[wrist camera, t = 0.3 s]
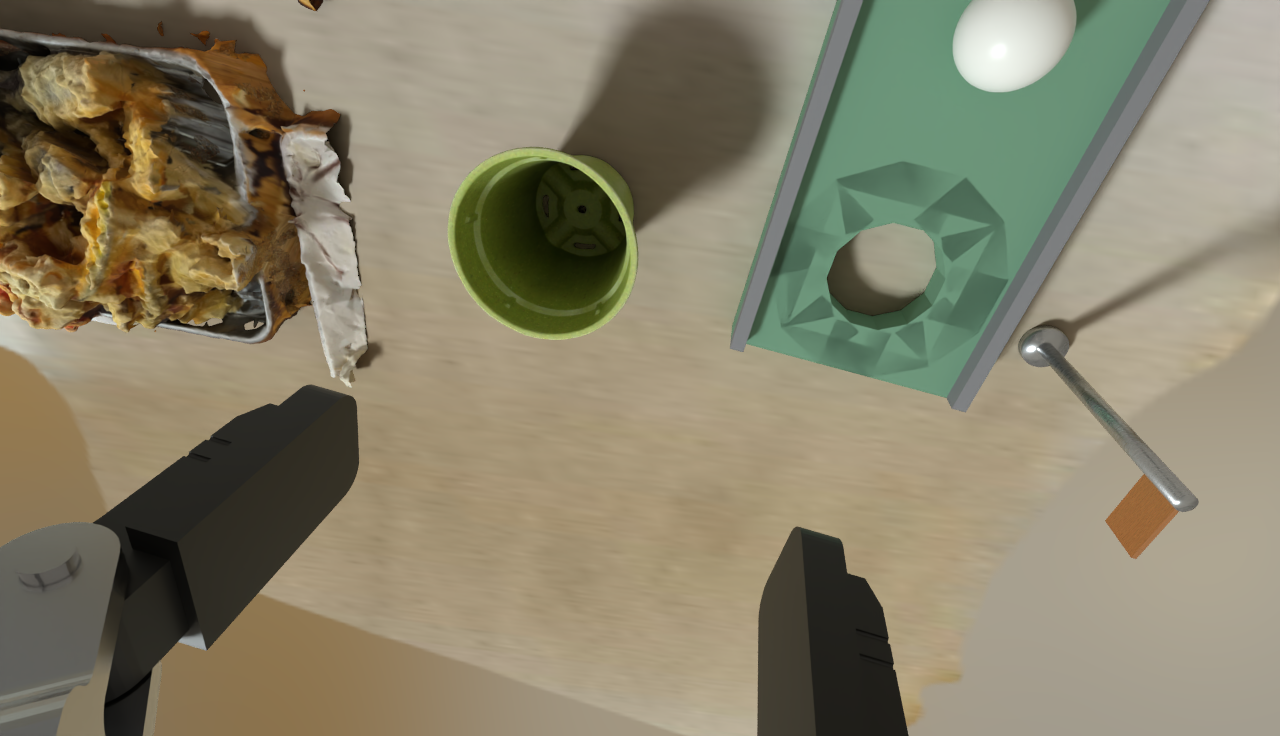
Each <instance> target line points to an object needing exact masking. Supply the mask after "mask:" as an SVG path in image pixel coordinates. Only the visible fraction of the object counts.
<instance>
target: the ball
mask: <svg viewBox="0 0 1280 736" xmlns="http://www.w3.org/2000/svg"><path fill="white" fill-rule="evenodd" d="M1076 17H1077V16H1076V7H1075V3H1074V0H972V1H971V2H970V3H969V5H968V6H967V7H966V9H965V10H964V12H963V14H962V15H961V17H960V19H959V21H958V23H957V26H956V29H955V33H954V37H953V57H954V61H955V65H956V67H957V69H958V71H959V73H960V74H961V75H962V77H963V78H964V79H965V80H966V81H967V82H968V83H970V84H971V85H973V86H975V87H976V88H978V89H981V90H984V91H988V92H1010V91H1014V90H1018V89H1021V88H1024V87H1026V86H1028V85H1031V84H1033V83H1034V82H1036V81H1038V80H1039V79H1041V78H1042V77H1043V76H1045V75H1046V74H1047V73H1048V72H1050V71H1051V70H1052V69H1053V68H1054V67H1055V66H1056V65H1057V63H1058V62H1059V61H1060V60H1061V59H1062V57H1063V56H1064V54H1065V53H1066V51H1067V49H1068V48H1069V45H1070V43H1071V41H1072V38H1073V35H1074V32H1075V27H1076Z"/></svg>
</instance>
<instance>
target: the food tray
mask: <svg viewBox="0 0 1280 736" xmlns="http://www.w3.org/2000/svg"><path fill="white" fill-rule="evenodd" d="M298 2H299V3H300V4H301V5H303V6H304V7H306V8H308V9H311V10H313V11H317V10H318V8H319V7H320V6H321V4H322V3H323V0H298ZM317 12H318V11H317ZM161 25H162V21H161V22H160V23H158V27H157V29H158V31H159V33H160V35H161V36H164V34H163V30H162V27H161ZM190 34H191V35H193V36H195V37H197V38H198V39H199V40H200V41H201V42H202V43H203V44H204V45H206V41H207V39H208V38H209V35H210V33H209V32H208V31H202V32H201V33H199V34H192V33H190ZM102 35H103V37H104V38H105V39H106V42H102V41H100V42H91V43H89V42H88V41H86V40H85V39H83V38H80V37H67V36H65V35H62V34H61V33H59V34H58V35H56V34H54V33H52V36H50V35H47V34H42V33H34V32H23V33H21V32H17V31H14V30H7V29H1V28H0V314H1V315H4V316H10V315H12V314H15V313H16V314H17V315H19V316H20V317H21V319H22V320H26V321H28V323H29V325H30V326H31V327H33V328H36V329H40V328H44V329H55V330H57V329H59V330H60V329H62V328H65V329H66V330H67V331H68V332H75V331H77V329H78V327H79V326H82V325H85V324H87V323H88V322H90V321H91V320H95V321H96V320H97V321H98V322H103V323H106V324H108V323H109V324H115V325H117V327H118V328H119V329H121V330H122V331H124V332H129V331H130V329H131V328H133V327H135V326H137V325H138V324H137V325H133V324H134V323H139V324H142V325H143V326H144V327H145V328H149V329H153V328H155V327H161V328H166V329H173V330H178V331H184V332H188V333H193V334H197V335H204V336H208V337H213V338H223V339H227V340H232V341H238V342H243V343H248V344H256V343H263V342H266V341H268V340H271V339H272V338H273V336H274V335H275V333H276V332H277V331H278V329H279V328H280V326H281V325H282V324H283V322H284V321H285V320H287V319H291V318H292V317H293V316H295V315H297V311H298V310H299V309H300V308H301V307H304V306H307V305H310V304H309V302H310V301H311V299H312V301H313V307H314V312H315V316H316V319H317V322H318V330H319V332H320V337H321V340H322V345H323V349H324V351H323V352H324V353H325V356H326V359H327V361H326V362H327V363H328V365H329V368H330V372H331V376H332V377H334V378H335V376H340V380H342V381H343V382H344V383H345V384H346V385H347V386H348V387H352V386H351V385H350V383H351V382H355V378H354V374H353V372H352V371H353V368H355V363H356V362H357V360H358V358H360V356H361V355H362V354H364V353H365V352H366V349H368V346H367V342H366V341H365V340H367V339H366V335H365V328H366V325H365V322H364V320H363V319H364V309H363V300H360V298H359V295H358V293H357V291H356V289H359V288H360V287H359V286H360V285H361V283H360V281H359V276H358V270H357V268H356V267H357V258H356V255H355V251H354V250H355V248H354V247H355V242H354V241H353V238H354V237H353V233H352V232H351V227H350V226H349V225H350V224H349V220H351V219H352V218H351V217H350V216H348V215H347V214H345V213H343V212H342V211H341V209H340V208H339V204H340V202H342V201H345V202H351V201H350V199H349V198H348V197H347V196H346V195H345V194H344V191H343V190H344V189H343V188H342V187H341V185H340V184H339V183H338V182H337V178H338V173H339V172H340V163H341V162H340V160H339V158H338V156H337V154H336V153H335V152H334V149H333V148H332V147H331V146H330V144H329V142H328V141H326V140H327V135H326V132H327V131H329V129H330V128H332V127H333V125H334V123H337V121H338V120H339V117H340V114H339V113H337V112H336V111H334V110H332V109H329V110H325V111H311V112H309V113H308V114H306V115H305V116H300V115H297V114H294V113H293V112H292V111H291V110H290V108H289V107H288V106H287V105H286V104H285V103H284V102H283V101H282V100H281V99H280V97H279V96H278V94H277V93H276V91H275V90H274V88H273V86H272V84H271V82H270V80H269V78H268V76H267V74H266V71H267V67H266V65H265V64H264V62H263V61H262V59H261V57H260V56H259V55H258V54H249V53H241V54H237V53H235V49H234V48H235V44H236V43H235V42H236V41H237V40H231V41H220V40H219V39H215V45H214V46H213V47H212V48H211V50H208V51H205V52H204V51H200V50H195V49H190V48H184V47H178V48H163V47H153V48H152V47H146V48H145V47H137V46H133V45H128V44H121V45H120V46H119V45H118V44H117V43H116V42H115V41H114V40H113V39H112V38H111V37H110V36H109V35H107V34H102ZM205 78H206V79H207V80H208V82H210V83H211V84H212V86H213V87H214V89H215V90H216V92H217V93H218V95H219V97H220V99H221V101H222V103H223V105H220V104H218V103H216V102H214V101H213V100H212V99H211V98H210V97H209V96H208V95H207V94H206V93H205V91H204V89H202V86H203V85H204V80H205ZM303 91H305V90H303ZM361 286H362V285H361ZM211 318H218V319H222V321H223V322H222V323H219V324H216V325H212V326H208V324H207V322H206V323H205V325H204V326H193V325H190V324H187V323H188V322H189V321H190V320H192V319H193V320H194V322H195V324H201V323H203V322H205V321H208V320H209V319H211ZM178 319H179V320H178ZM251 321H254V328H255V327H256V325H257V323H258V321H259V322H262V323H264V324H263V325H262V326H260V327H258V328H257V329H252V330H245V327H244V324H246V323H248V322H251ZM154 332H156V330H155V331H154Z"/></svg>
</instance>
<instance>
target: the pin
mask: <svg viewBox="0 0 1280 736" xmlns="http://www.w3.org/2000/svg"><path fill="white" fill-rule="evenodd" d="M1068 349H1069V341H1068V338H1067V337H1066V336H1065V335H1064V334H1063V333H1062V332H1061V331H1060V330H1059V329H1058V328H1056V327H1053V326H1047V325H1046V326H1038V327H1035V328H1033V329H1031V330H1029V331H1028V332H1026V333H1025V334H1024V335H1023V337H1022V338H1021V340H1020V342H1019V345H1018V350H1019V353H1020V355H1021V356H1022V357H1023V359H1024V360H1025V361H1026V362H1027V363H1028V364H1030V365H1032V366H1036V367H1047V366H1051V368H1052V369H1053V370H1054V371H1055V372H1056V373H1057V374H1058V376H1059V377H1060V378H1061V379H1062V380H1063V381H1064V382H1065V384H1066V385H1067V386H1068V387H1069V388H1070V389H1071V390H1072V392H1073V393H1074V394H1075V395H1076V396H1077V397H1078V398H1079V400H1080V401H1081V402H1082V403H1083V404H1084V405H1085V406H1086V408H1087V409H1088V410H1089V411H1090V412H1091V413H1092V414H1093V416H1094V417H1095V418H1096V419H1097V420H1098V421H1099V422H1100V424H1101V425H1102V426H1103V427H1104V428H1105V429H1106V430H1107V432H1108V433H1109V434H1110V435H1111V436H1112V437H1113V438H1114V440H1115V441H1116V442H1117V443H1118V444H1119V445H1120V446H1121V448H1122V449H1123V450H1124V451H1125V452H1126V453H1127V454H1128V456H1129V457H1130V458H1131V459H1132V460H1133V461H1134V462H1135V463H1136V465H1137V466H1138V467H1139V468H1140V469H1141V470H1142V472H1143V473H1144V475H1143V476H1142V477H1141V478H1140V479H1139V481H1138V482H1137V483H1136V484H1135V485H1134V487H1133V488H1132V489H1131V490H1130V491H1129V493H1128V494H1127V495H1126V497H1125V498H1124V499H1123V500H1122V501H1121V502H1120V504H1119V505H1118V506H1117V507H1116V508H1115V510H1114V511H1113V512H1112V513H1111V514H1110V516H1109V517H1108V518H1107V519H1106V520H1105V521H1106V523H1107V524H1108V525H1109V527H1110V528H1111V530H1112V531H1113V532H1114V534H1115V535H1116V537H1117V538H1118V540H1119V541H1120V542H1121V544H1122V545H1123V546H1124V548H1125V549H1126V551H1127V552H1128V554H1129V555H1130V557H1131V558H1135V559H1136V558H1137V557H1138V556H1139V555H1140V554H1141V553H1142V552H1143V551H1144V550H1145V548H1146V547H1147V546H1148V545H1149V544H1150V543H1151V542H1152V541H1153V540H1154V539H1155V537H1156V536H1157V535H1158V534H1159V533H1160V532H1161V531H1162V530H1163V529H1164V527H1165V526H1166V525H1167V524H1168V523H1169V522H1170V521H1171V520H1172V519H1173V518H1174V516H1175V515H1176V514H1177V513H1178V512H1179V511H1181V512H1186V511H1189V510H1192V509H1194V508H1195V507H1196V506H1197V505H1198V499H1197V498H1196V497H1195V496H1194V495H1193V494H1192V493H1191V491H1190V490H1189V489H1188V488H1187V487H1186V486H1185V485H1184V484H1183V483H1182V482H1181V481H1180V480H1179V479H1178V478H1177V477H1176V475H1175V474H1174V473H1173V472H1172V471H1171V470H1170V469H1169V468H1168V467H1167V466H1166V465H1165V464H1164V463H1163V462H1162V461H1161V460H1160V459H1159V457H1158V456H1157V455H1156V454H1155V453H1154V452H1153V451H1152V450H1151V449H1150V448H1149V447H1148V446H1147V445H1146V444H1145V443H1144V442H1143V440H1142V439H1140V437H1139V436H1138V435H1137V434H1136V433H1135V432H1134V431H1133V430H1132V429H1131V428H1130V427H1129V426H1128V425H1127V423H1126V422H1125V421H1124V420H1123V419H1122V418H1121V417H1120V416H1119V415H1118V414H1117V413H1116V412H1115V411H1114V410H1113V409H1112V408H1111V406H1110V405H1109V404H1108V403H1107V402H1106V401H1105V400H1104V399H1103V398H1102V397H1101V396H1100V395H1099V394H1098V393H1097V392H1096V391H1095V389H1094V388H1093V387H1092V386H1091V385H1090V384H1089V383H1088V382H1087V381H1086V380H1085V379H1084V378H1083V377H1082V376H1081V375H1080V374H1079V373H1078V371H1077V370H1076V369H1075V368H1074V367H1073V366H1072V365H1071V364H1070V363H1069V362H1068V361H1067V360H1066V359H1065V358H1064V356H1065V355H1066V354H1067V352H1068Z"/></svg>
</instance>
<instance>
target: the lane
mask: <svg viewBox="0 0 1280 736" xmlns="http://www.w3.org/2000/svg"><path fill="white" fill-rule="evenodd" d="M971 1H972V0H837V2H836V5H835V8H834V12H833V15H832V18H831V21H830V24H829V27H828V30H827V33H826V36H825V39H824V43H823V46H822V49H821V52H820V55H819V58H818V61H817V64H816V67H815V71H814V74H813V77H812V80H811V83H810V86H809V89H808V92H807V95H806V99H805V102H804V105H803V108H802V111H801V114H800V117H799V120H798V123H797V126H796V130H795V133H794V136H793V139H792V142H791V145H790V148H789V151H788V154H787V158H786V161H785V164H784V167H783V170H782V173H781V176H780V179H779V182H778V185H777V189H776V192H775V195H774V198H773V201H772V204H771V207H770V210H769V213H768V217H767V220H766V223H765V226H764V229H763V232H762V235H761V238H760V241H759V244H758V248H757V251H756V254H755V257H754V260H753V263H752V266H751V269H750V272H749V276H748V279H747V282H746V285H745V288H744V291H743V294H742V297H741V300H740V304H739V307H738V310H737V313H736V316H735V319H734V322H733V325H732V333H731V343H730V349H733V350H737V351H741V352H743V351H744V348H745V345H746V344H749V345H752V346H756V347H760V348H763V349H767V350H771V351H775V352H778V353H782V354H786V355H789V356H793V357H797V358H801V359H804V360H808V361H812V362H815V363H819V364H823V365H826V366H830V367H834V368H838V369H841V370H845V371H849V372H852V373H856V374H860V375H864V376H867V377H871V378H875V379H878V380H882V381H886V382H889V383H893V384H897V385H901V386H904V387H908V388H912V389H915V390H919V391H923V392H927V393H930V394H934V395H938V396H941V397H945V398H947V400H948V402H949V404H950V406H951V408H952V409H955V410H959V411H963V412H966V411H967V409H968V407H969V406H970V404H971V402H972V401H973V399H974V397H975V396H976V394H977V392H978V391H979V389H980V387H981V385H982V384H983V382H984V380H985V379H986V377H987V375H988V374H989V372H990V370H991V369H992V367H993V365H994V364H995V362H996V360H997V358H998V357H999V355H1000V353H1001V352H1002V350H1003V348H1004V347H1005V345H1006V343H1007V342H1008V340H1009V338H1010V337H1011V335H1012V333H1013V331H1014V330H1015V328H1016V326H1017V325H1018V323H1019V321H1020V320H1021V318H1022V316H1023V315H1024V313H1025V311H1026V310H1027V308H1028V306H1029V304H1030V303H1031V301H1032V299H1033V298H1034V296H1035V294H1036V293H1037V291H1038V289H1039V288H1040V286H1041V284H1042V282H1043V281H1044V279H1045V277H1046V276H1047V274H1048V272H1049V271H1050V269H1051V267H1052V266H1053V264H1054V262H1055V261H1056V259H1057V257H1058V255H1059V254H1060V252H1061V250H1062V249H1063V247H1064V245H1065V244H1066V242H1067V240H1068V239H1069V237H1070V235H1071V234H1072V232H1073V230H1074V228H1075V227H1076V225H1077V223H1078V222H1079V220H1080V218H1081V217H1082V215H1083V213H1084V212H1085V210H1086V208H1087V207H1088V205H1089V203H1090V201H1091V200H1092V198H1093V196H1094V195H1095V193H1096V191H1097V190H1098V188H1099V186H1100V185H1101V183H1102V181H1103V180H1104V178H1105V176H1106V174H1107V173H1108V171H1109V169H1110V168H1111V166H1112V164H1113V163H1114V161H1115V159H1116V158H1117V156H1118V154H1119V152H1120V151H1121V149H1122V147H1123V146H1124V144H1125V142H1126V141H1127V139H1128V137H1129V136H1130V134H1131V132H1132V131H1133V129H1134V127H1135V125H1136V124H1137V122H1138V120H1139V119H1140V117H1141V115H1142V114H1143V112H1144V110H1145V109H1146V107H1147V105H1148V104H1149V102H1150V100H1151V98H1152V97H1153V95H1154V93H1155V92H1156V90H1157V88H1158V87H1159V85H1160V83H1161V82H1162V80H1163V78H1164V77H1165V75H1166V73H1167V71H1168V70H1169V68H1170V66H1171V65H1172V63H1173V61H1174V60H1175V58H1176V56H1177V55H1178V53H1179V51H1180V50H1181V48H1182V46H1183V44H1184V43H1185V41H1186V39H1187V38H1188V36H1189V34H1190V33H1191V31H1192V29H1193V28H1194V26H1195V24H1196V23H1197V21H1198V19H1199V17H1200V16H1201V14H1202V12H1203V11H1204V9H1205V7H1206V6H1207V4H1208V2H1209V1H1210V0H1074V3H1075V7H1076V16H1077V17H1076V27H1075V32H1074V35H1073V38H1072V41H1071V43H1070V45H1069V48H1068V49H1067V51H1066V53H1065V54H1064V56H1063V57H1062V59H1061V60H1060V61H1059V62H1058V63H1057V65H1056V66H1055V67H1054V68H1053V69H1052V70H1051V71H1050V72H1048V73H1047V74H1046V75H1045V76H1043V77H1042V78H1041V79H1039V80H1038V81H1036V82H1034V83H1033V84H1031V85H1028V86H1026V87H1024V88H1021V89H1018V90H1014V91H1010V92H988V91H984V90H981V89H978V88H976V87H975V86H973V85H971V84H970V83H968V82H967V81H966V80H965V79H964V78H963V77H962V75H961V74H960V73H959V71H958V69H957V67H956V65H955V61H954V57H953V37H954V33H955V29H956V26H957V23H958V21H959V19H960V17H961V15H962V14H963V12H964V10H965V9H966V7H967V6H968V5H969V3H970V2H971ZM890 223H897V224H901V225H905V226H908V227H912V228H916V229H920V230H924V231H925V232H926V234H927V235H928V236H929V237H930V238H931V239H932V240H933V241H934V249H935V258H936V269H935V271H934V273H933V275H932V278H931V280H930V282H929V284H928V286H927V288H926V290H925V292H924V293H923V294H922V295H920V296H919V297H918V298H916V299H915V300H914V301H912V302H911V303H910V304H908V305H907V306H906V307H904V308H903V309H902V310H900V311H895V312H890V313H885V314H880V315H876V316H869V315H865V314H862V313H858V312H854V311H850V310H847V309H845V308H844V307H843V306H842V305H841V304H840V303H839V302H838V301H837V300H836V299H835V298H834V297H833V296H832V295H831V294H830V293H829V289H828V284H827V275H828V273H829V270H830V268H831V265H832V263H833V260H834V258H835V255H836V253H837V251H838V250H839V249H840V248H841V247H843V246H844V245H845V244H846V243H847V242H849V241H850V240H851V239H852V238H853V237H854V236H856V235H857V234H858V233H859V232H860V231H862V230H866V229H870V228H874V227H878V226H882V225H886V224H890Z"/></svg>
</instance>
